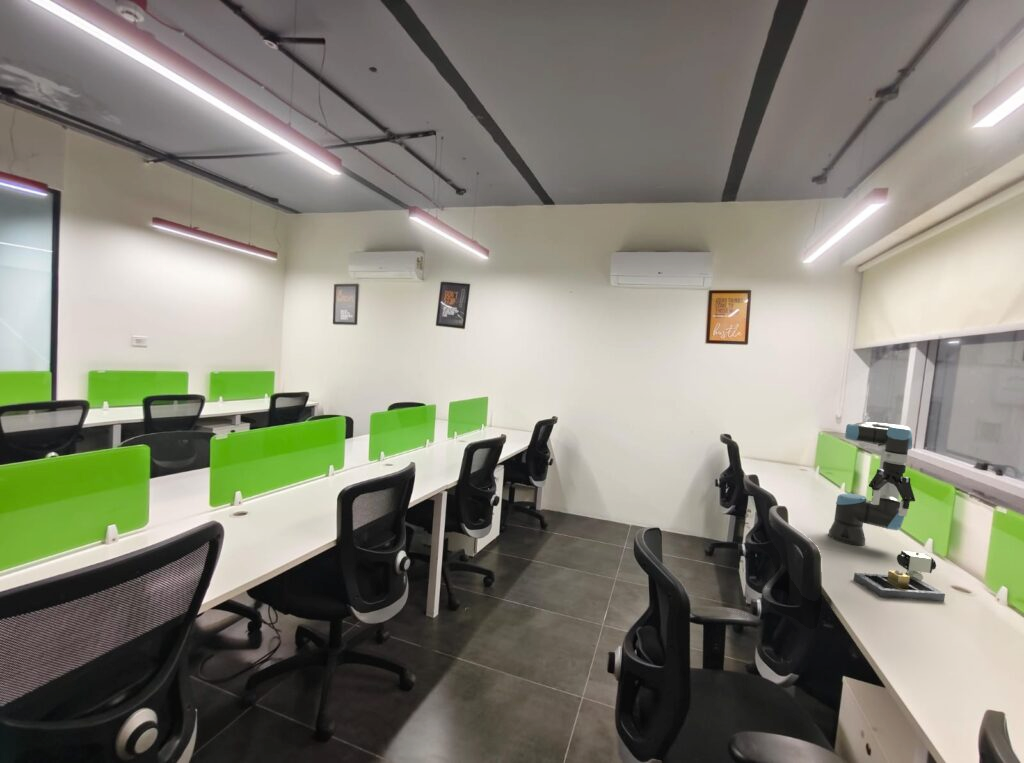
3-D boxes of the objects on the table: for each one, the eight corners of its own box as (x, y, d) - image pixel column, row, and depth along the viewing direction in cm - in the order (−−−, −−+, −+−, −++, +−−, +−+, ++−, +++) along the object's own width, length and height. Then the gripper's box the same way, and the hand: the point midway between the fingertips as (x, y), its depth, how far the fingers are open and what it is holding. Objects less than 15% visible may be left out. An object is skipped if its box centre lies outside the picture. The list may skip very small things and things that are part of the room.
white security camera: (933, 584, 181) (937, 556, 180) (901, 579, 183) (905, 552, 182) (924, 578, 186) (928, 551, 185) (892, 573, 188) (896, 546, 188)
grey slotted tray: (853, 579, 180) (854, 572, 180) (912, 583, 180) (913, 576, 180) (880, 597, 167) (881, 589, 167) (944, 601, 167) (945, 593, 167)
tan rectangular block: (897, 587, 176) (899, 569, 175) (907, 593, 171) (910, 575, 171) (886, 587, 176) (888, 568, 175) (896, 593, 171) (898, 574, 171)
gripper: (862, 455, 201) (857, 499, 203) (913, 469, 177) (906, 520, 178) (878, 456, 202) (872, 500, 203) (931, 470, 177) (924, 521, 178)
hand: (888, 509), depth 191 cm, fingers open, 13 cm apart
